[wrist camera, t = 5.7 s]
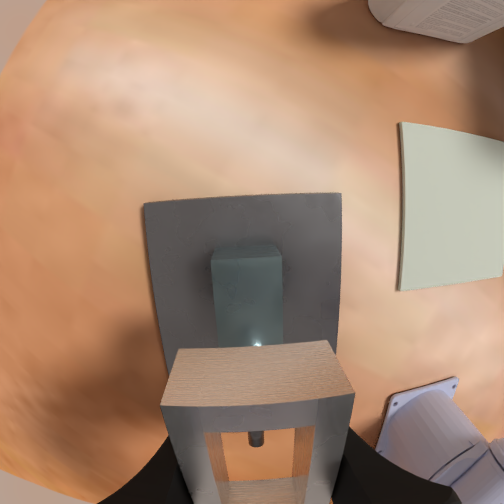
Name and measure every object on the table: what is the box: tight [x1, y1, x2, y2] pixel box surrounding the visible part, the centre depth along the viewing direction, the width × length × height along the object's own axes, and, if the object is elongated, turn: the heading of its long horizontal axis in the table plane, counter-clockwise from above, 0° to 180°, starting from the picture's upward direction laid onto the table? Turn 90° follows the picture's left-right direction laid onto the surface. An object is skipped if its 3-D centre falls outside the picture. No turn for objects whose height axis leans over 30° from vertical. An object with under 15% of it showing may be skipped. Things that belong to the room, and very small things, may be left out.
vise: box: [144, 193, 342, 447], centre depth 17 cm, size 18×12×8 cm, turn 3°
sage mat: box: [398, 122, 504, 291], centre depth 19 cm, size 12×12×1 cm
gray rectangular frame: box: [160, 340, 355, 504], centre depth 9 cm, size 9×5×3 cm, turn 3°
